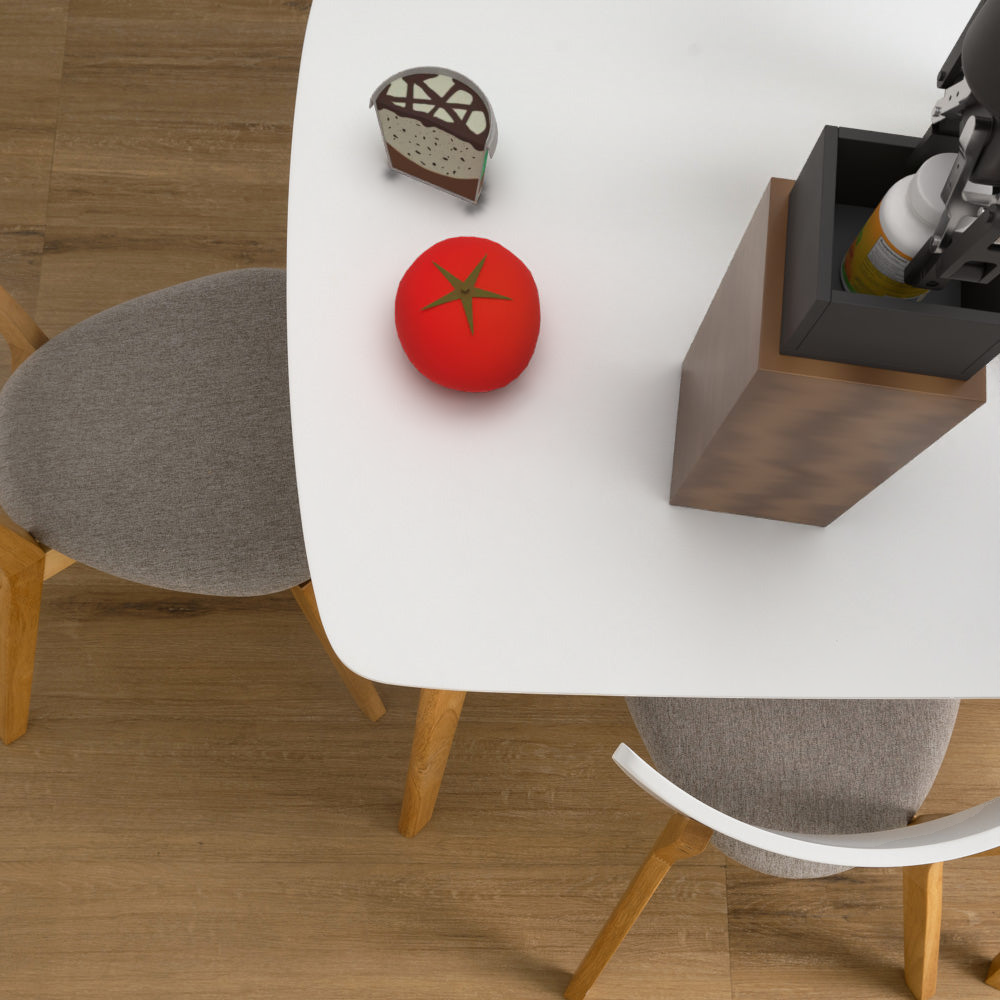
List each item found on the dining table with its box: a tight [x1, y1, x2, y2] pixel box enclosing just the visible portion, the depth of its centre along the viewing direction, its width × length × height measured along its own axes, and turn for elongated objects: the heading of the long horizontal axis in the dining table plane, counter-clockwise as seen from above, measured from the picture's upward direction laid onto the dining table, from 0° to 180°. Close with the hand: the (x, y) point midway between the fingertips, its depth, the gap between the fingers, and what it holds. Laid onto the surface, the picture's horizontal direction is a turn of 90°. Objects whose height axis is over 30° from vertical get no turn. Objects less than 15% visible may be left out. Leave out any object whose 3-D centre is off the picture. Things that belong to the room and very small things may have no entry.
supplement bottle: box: [840, 153, 992, 302], centre depth 55 cm, size 5×5×10 cm
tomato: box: [394, 235, 542, 393], centre depth 85 cm, size 14×13×10 cm
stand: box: [668, 176, 987, 528], centre depth 74 cm, size 14×14×28 cm
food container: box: [368, 65, 499, 205], centre depth 91 cm, size 12×6×10 cm, turn 65°
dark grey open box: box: [779, 124, 1000, 381], centre depth 58 cm, size 12×12×7 cm
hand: (921, 225), depth 55 cm, fingers open, 6 cm apart
